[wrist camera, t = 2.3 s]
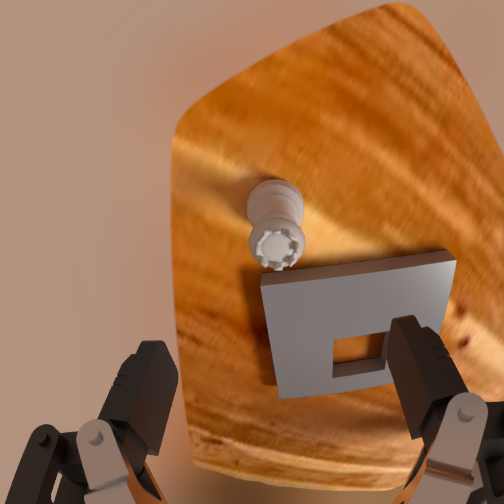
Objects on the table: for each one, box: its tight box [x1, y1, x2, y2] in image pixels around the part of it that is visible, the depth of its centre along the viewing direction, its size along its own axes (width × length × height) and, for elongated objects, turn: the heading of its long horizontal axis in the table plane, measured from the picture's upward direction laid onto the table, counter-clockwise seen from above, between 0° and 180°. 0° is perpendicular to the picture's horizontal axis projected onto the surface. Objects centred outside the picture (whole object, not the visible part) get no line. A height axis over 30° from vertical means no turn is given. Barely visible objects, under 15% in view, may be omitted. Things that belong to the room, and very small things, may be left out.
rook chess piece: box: [246, 179, 305, 271], centre depth 20 cm, size 4×4×8 cm
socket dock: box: [260, 250, 457, 399], centre depth 28 cm, size 18×16×2 cm
